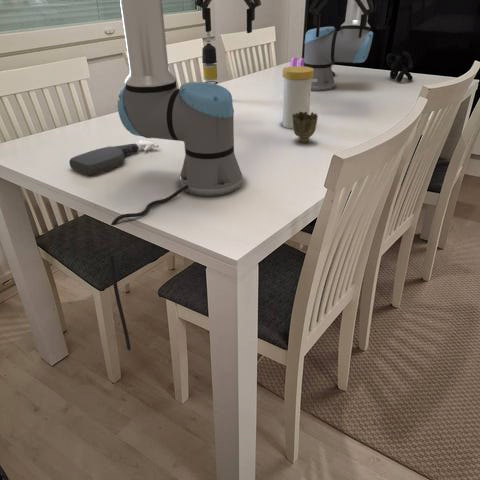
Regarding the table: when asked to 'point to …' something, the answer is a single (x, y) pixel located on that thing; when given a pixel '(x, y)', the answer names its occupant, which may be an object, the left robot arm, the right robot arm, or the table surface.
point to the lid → (298, 73)
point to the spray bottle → (106, 157)
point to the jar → (295, 99)
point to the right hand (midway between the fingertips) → (338, 37)
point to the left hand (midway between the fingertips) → (228, 32)
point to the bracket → (294, 62)
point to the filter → (209, 61)
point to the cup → (304, 125)
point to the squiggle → (399, 66)
